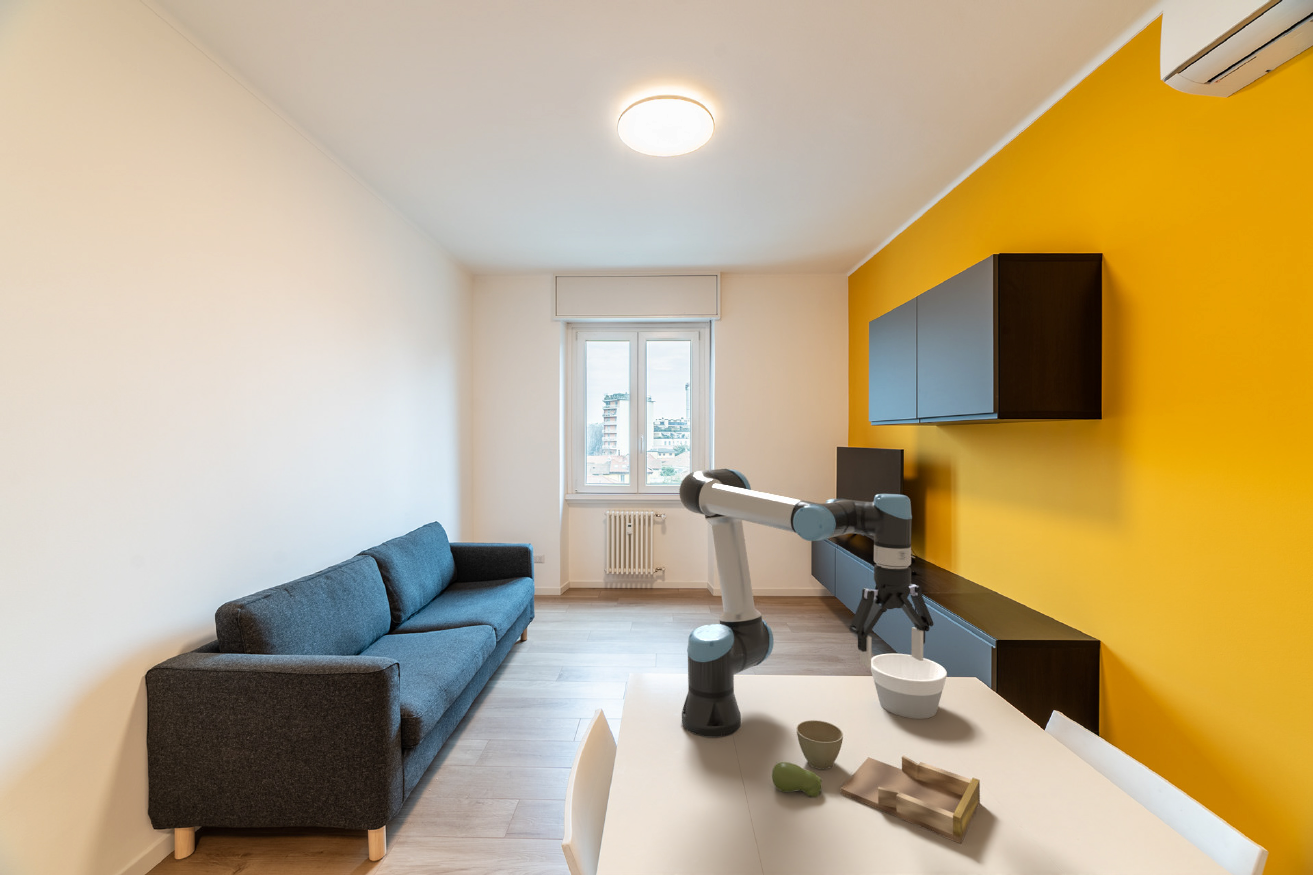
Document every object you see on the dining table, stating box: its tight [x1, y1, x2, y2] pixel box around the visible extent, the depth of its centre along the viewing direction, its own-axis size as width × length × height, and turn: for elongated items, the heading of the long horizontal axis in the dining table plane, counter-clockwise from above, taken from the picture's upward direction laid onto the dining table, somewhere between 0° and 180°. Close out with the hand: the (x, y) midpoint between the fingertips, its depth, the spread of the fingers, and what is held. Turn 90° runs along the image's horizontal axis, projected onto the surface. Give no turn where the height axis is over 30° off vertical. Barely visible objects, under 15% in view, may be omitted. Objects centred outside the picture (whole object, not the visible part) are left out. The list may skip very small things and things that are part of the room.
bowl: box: [870, 653, 948, 720], centre depth 152 cm, size 19×19×11 cm
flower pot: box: [795, 719, 844, 770], centre depth 125 cm, size 10×10×7 cm
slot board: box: [840, 755, 981, 845], centre depth 112 cm, size 22×15×4 cm
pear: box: [771, 761, 823, 798], centre depth 115 cm, size 6×5×10 cm
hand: (891, 662), depth 123 cm, fingers open, 13 cm apart
